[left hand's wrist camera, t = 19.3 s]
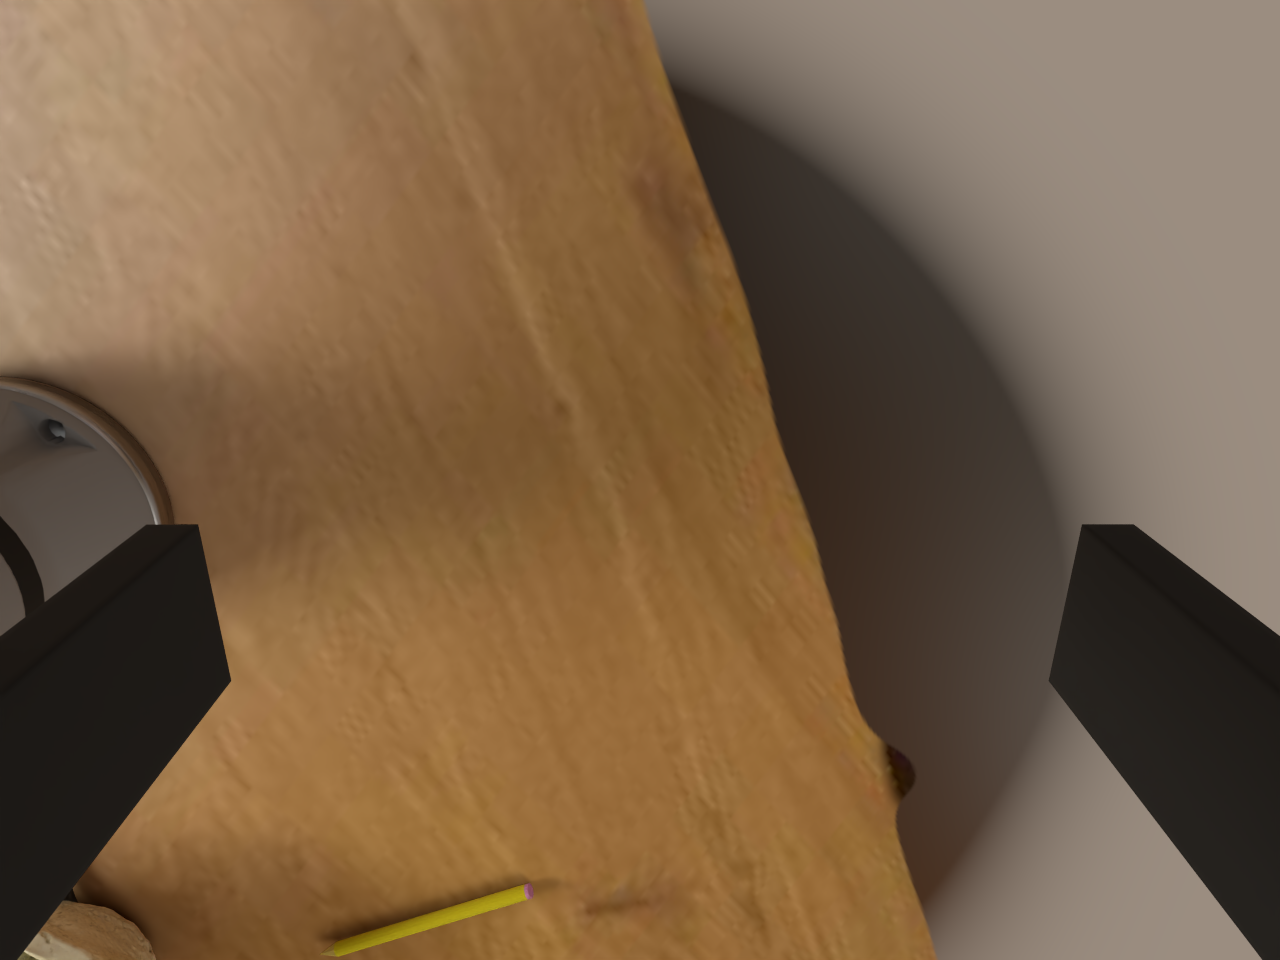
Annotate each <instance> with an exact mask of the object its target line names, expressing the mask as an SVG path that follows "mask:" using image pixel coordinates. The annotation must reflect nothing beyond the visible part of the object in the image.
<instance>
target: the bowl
mask: <svg viewBox="0 0 1280 960" xmlns="http://www.w3.org/2000/svg"><path fill="white" fill-rule="evenodd" d="M18 960H156V957H155V954H154V952H153V951H152V947H151V944H150V942H149V940H148V939H146V938H145V937H144V935H143V934H142V933H141V931H140V930H139V928H138V927H137V926H136V925H135V924H134V923H133V922H131V921H129V920H126V919H125V918H123V917H122V916H120V915H119V914H118V913H116V912H115V911H113V910H112V909H109V908H106V907H101V906H96V905H91V904H83V903H76V902H71V901H62V902H61V904H60V905H59V906H58V908H57V909H56V910H55V912H54V913H53V914H52V915H51V917H50V918H49V919H48V921H47V922H46V923H45V925H44V926H43V927H42V928H41V930H40V931H39V932H38V934H37V935H36V936H35V938H34V939H33V940H32V942H31V943H30V944H29V945H28V947H27V948H26V949H25V951H24V952H23V953H22V955H21V956H20V957H19V958H18Z"/></svg>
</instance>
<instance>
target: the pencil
mask: <svg viewBox="0 0 1280 960" xmlns="http://www.w3.org/2000/svg"><path fill="white" fill-rule="evenodd" d="M531 898H533V888H532V885H531V884H530V883H528V884H523V885H520V886H517V887H513V888H510V889H507V890H504V891H500V892H497V893H494V894H490V895H487V896H484V897H481V898H477V899H474V900H471V901H468V902H464V903H461V904H458V905H454V906H451V907H448V908H445V909H441V910H438V911H435V912H431V913H428V914H425V915H422V916H418V917H415V918H412V919H408V920H405V921H402V922H399V923H395V924H392V925H389V926H386V927H382V928H379V929H376V930H372V931H369V932H366V933H363V934H359V935H356V936H353V937H349V938H346V939H343V940H340V941H337V942H335V943H334V944H333V945H331V946H330V947H329V948H327V949H326V950H325V951H323V952H322V953H321V954H319V955H328V956H337V957H339V956H342V955H345V954H348V953H352V952H355V951H358V950H362V949H365V948H368V947H372V946H375V945H378V944H382V943H385V942H388V941H391V940H395V939H398V938H401V937H405V936H408V935H411V934H415V933H418V932H421V931H425V930H428V929H431V928H435V927H438V926H441V925H445V924H448V923H451V922H455V921H458V920H461V919H465V918H468V917H471V916H474V915H478V914H481V913H484V912H488V911H491V910H494V909H498V908H501V907H504V906H508V905H511V904H514V903H518V902H521V901H524V900H528V899H531Z"/></svg>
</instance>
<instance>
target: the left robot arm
mask: <svg viewBox="0 0 1280 960" xmlns="http://www.w3.org/2000/svg"><path fill="white" fill-rule="evenodd" d="M230 682H231V677H230V673H229V668H228V663H227V659H226V654H225V649H224V645H223V640H222V635H221V631H220V626H219V621H218V616H217V612H216V607H215V602H214V598H213V593H212V588H211V584H210V579H209V574H208V569H207V565H206V560H205V555H204V551H203V546H202V541H201V537H200V532H199V527H198V524H174V519H173V511H172V507H171V503H170V499H169V496H168V494H167V491H166V488H165V486H164V483H163V481H162V479H161V477H160V475H159V473H158V471H157V470H156V468H155V466H154V464H153V463H152V461H151V460H150V458H149V457H148V456H147V454H146V453H145V451H144V450H143V449H142V448H141V446H140V445H139V444H138V443H137V442H136V440H135V439H134V438H133V437H132V436H131V435H130V434H129V433H128V432H127V431H126V430H125V429H124V428H123V427H121V426H120V425H119V424H118V423H117V422H116V421H115V420H113V419H112V418H111V417H109V416H108V415H107V414H105V413H104V412H103V411H101V410H100V409H98V408H97V407H95V406H94V405H92V404H90V403H89V402H87V401H85V400H83V399H81V398H79V397H78V396H76V395H74V394H71V393H69V392H67V391H64V390H62V389H59V388H57V387H54V386H51V385H48V384H44V383H40V382H36V381H32V380H26V379H20V378H9V377H0V960H18V958H19V957H20V956H21V955H22V953H23V952H24V951H25V949H26V948H27V947H28V945H29V944H30V943H31V942H32V940H33V939H34V938H35V936H36V935H37V934H38V932H39V931H40V930H41V928H42V927H43V926H44V925H45V923H46V922H47V921H48V919H49V918H50V917H51V915H52V914H53V913H54V912H55V910H56V909H57V908H58V906H59V905H60V904H61V902H62V901H71V902H76V903H78V902H77V900H76V897H75V894H74V892H73V889H72V888H73V887H74V885H75V884H76V883H77V881H78V880H79V879H80V878H81V876H82V875H83V874H84V872H85V871H86V870H87V868H88V867H89V866H90V865H91V863H92V862H93V861H94V859H95V858H96V857H97V855H98V854H99V853H100V851H101V850H102V849H103V848H104V846H105V845H106V844H107V842H108V841H109V840H110V838H111V837H112V836H113V834H114V833H115V832H116V831H117V829H118V828H119V827H120V825H121V824H122V823H123V821H124V820H125V819H126V818H127V816H128V815H129V814H130V812H131V811H132V810H133V808H134V807H135V806H136V804H137V803H138V802H139V801H140V799H141V798H142V797H143V795H144V794H145V793H146V791H147V790H148V789H149V787H150V786H151V785H152V784H153V782H154V781H155V780H156V778H157V777H158V776H159V774H160V773H161V772H162V771H163V769H164V768H165V767H166V765H167V764H168V763H169V761H170V760H171V759H172V757H173V756H174V755H175V754H176V752H177V751H178V750H179V748H180V747H181V746H182V744H183V743H184V742H185V740H186V739H187V738H188V737H189V735H190V734H191V733H192V731H193V730H194V729H195V727H196V726H197V725H198V724H199V722H200V721H201V720H202V718H203V717H204V716H205V714H206V713H207V712H208V710H209V709H210V708H211V707H212V705H213V704H214V703H215V701H216V700H217V699H218V697H219V696H220V695H221V693H222V692H223V691H224V690H225V688H226V687H227V686H228V684H229V683H230ZM1049 682H1050V683H1051V684H1052V686H1053V687H1054V688H1055V689H1056V691H1057V692H1058V693H1059V695H1060V696H1061V697H1062V699H1063V700H1064V701H1065V703H1066V704H1067V705H1068V706H1069V708H1070V709H1071V710H1072V712H1073V713H1074V714H1075V716H1076V717H1077V718H1078V720H1079V721H1080V722H1081V724H1082V725H1083V726H1084V727H1085V729H1086V730H1087V731H1088V733H1089V734H1090V735H1091V737H1092V738H1093V739H1094V740H1095V742H1096V743H1097V744H1098V746H1099V747H1100V748H1101V750H1102V751H1103V752H1104V753H1105V755H1106V756H1107V757H1108V759H1109V760H1110V761H1111V763H1112V764H1113V765H1114V767H1115V768H1116V769H1117V770H1118V772H1119V773H1120V774H1121V776H1122V777H1123V778H1124V780H1125V781H1126V782H1127V783H1128V785H1129V786H1130V787H1131V789H1132V790H1133V791H1134V793H1135V794H1136V795H1137V797H1138V798H1139V799H1140V801H1141V802H1142V803H1143V804H1144V806H1145V807H1146V808H1147V810H1148V811H1149V812H1150V814H1151V815H1152V816H1153V817H1154V819H1155V820H1156V821H1157V823H1158V824H1159V825H1160V827H1161V828H1162V829H1163V831H1164V832H1165V833H1166V834H1167V836H1168V837H1169V838H1170V840H1171V841H1172V842H1173V844H1174V845H1175V846H1176V848H1177V849H1178V850H1179V851H1180V853H1181V854H1182V855H1183V857H1184V858H1185V859H1186V861H1187V862H1188V863H1189V865H1190V866H1191V867H1192V868H1193V870H1194V871H1195V872H1196V874H1197V875H1198V876H1199V878H1200V879H1201V880H1202V881H1203V883H1204V884H1205V885H1206V887H1207V888H1208V889H1209V891H1210V892H1211V893H1212V894H1213V896H1214V897H1215V898H1216V900H1217V901H1218V902H1219V904H1220V905H1221V906H1222V908H1223V909H1224V910H1225V912H1226V913H1227V914H1228V915H1229V917H1230V918H1231V919H1232V921H1233V922H1234V923H1235V925H1236V926H1237V927H1238V928H1239V930H1240V931H1241V932H1242V934H1243V935H1244V936H1245V938H1246V939H1247V940H1248V942H1249V943H1250V944H1251V945H1252V947H1253V948H1254V949H1255V951H1256V952H1257V953H1258V955H1259V956H1260V957H1261V958H1262V960H1280V636H1279V635H1278V634H1276V633H1275V632H1274V631H1272V630H1271V629H1270V628H1268V627H1267V626H1266V625H1264V624H1263V623H1262V622H1260V621H1259V620H1258V619H1257V618H1255V617H1254V616H1253V615H1251V614H1250V613H1249V612H1247V611H1246V610H1245V609H1244V608H1242V607H1241V606H1240V605H1238V604H1237V603H1236V602H1234V601H1233V600H1232V599H1230V598H1229V597H1228V596H1226V595H1225V594H1224V593H1223V592H1221V591H1220V590H1219V589H1217V588H1216V587H1215V586H1213V585H1212V584H1211V583H1210V582H1208V581H1207V580H1206V579H1204V578H1203V577H1202V576H1200V575H1199V574H1198V573H1196V572H1195V571H1194V570H1192V569H1191V568H1190V567H1189V566H1187V565H1186V564H1185V563H1183V562H1182V561H1181V560H1179V559H1178V558H1177V557H1176V556H1174V555H1173V554H1172V553H1170V552H1169V551H1168V550H1166V549H1165V548H1164V547H1162V546H1161V545H1160V544H1159V543H1157V542H1156V541H1155V540H1153V539H1152V538H1151V537H1149V536H1148V535H1147V534H1145V533H1144V532H1143V531H1142V530H1140V529H1139V528H1138V527H1136V526H1135V525H1133V524H1131V525H1130V524H1128V525H1127V524H1126V525H1123V524H1119V525H1118V524H1115V525H1113V524H1112V525H1110V524H1109V525H1108V524H1107V525H1106V524H1105V525H1101V524H1099V525H1096V524H1095V525H1094V524H1092V525H1089V524H1087V525H1084V524H1083V525H1082V527H1081V532H1080V537H1079V541H1078V546H1077V551H1076V555H1075V560H1074V565H1073V569H1072V574H1071V579H1070V584H1069V588H1068V593H1067V598H1066V602H1065V607H1064V612H1063V617H1062V621H1061V626H1060V631H1059V635H1058V640H1057V645H1056V649H1055V654H1054V659H1053V663H1052V668H1051V673H1050V677H1049Z"/></svg>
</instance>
